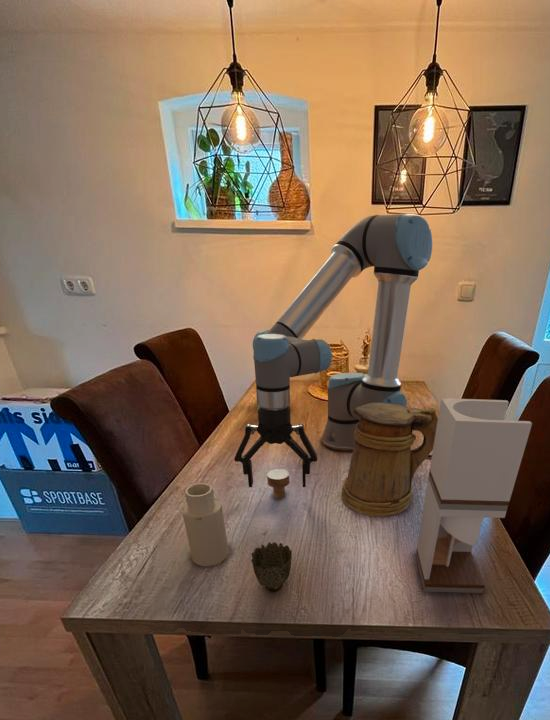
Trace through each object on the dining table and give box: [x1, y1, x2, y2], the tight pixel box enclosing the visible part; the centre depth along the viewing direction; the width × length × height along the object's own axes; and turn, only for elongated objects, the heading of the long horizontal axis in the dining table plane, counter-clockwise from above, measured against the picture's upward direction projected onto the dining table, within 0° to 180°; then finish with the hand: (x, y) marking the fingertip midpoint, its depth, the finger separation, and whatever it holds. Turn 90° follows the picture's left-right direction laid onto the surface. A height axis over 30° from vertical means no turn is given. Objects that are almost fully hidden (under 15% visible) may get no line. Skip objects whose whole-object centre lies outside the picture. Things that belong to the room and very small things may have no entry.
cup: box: [251, 541, 293, 593], centre depth 74 cm, size 8×7×8 cm
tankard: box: [340, 403, 438, 517], centre depth 99 cm, size 18×24×25 cm
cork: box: [266, 468, 290, 499], centre depth 103 cm, size 6×6×6 cm
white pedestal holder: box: [415, 397, 533, 594], centre depth 72 cm, size 11×11×35 cm
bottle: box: [181, 482, 229, 567], centre depth 79 cm, size 7×7×16 cm
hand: (277, 484), depth 102 cm, fingers open, 13 cm apart
